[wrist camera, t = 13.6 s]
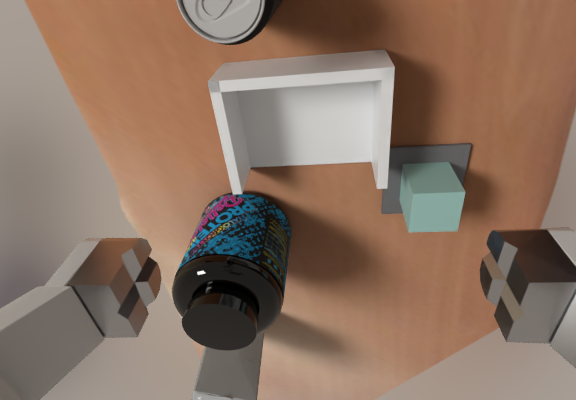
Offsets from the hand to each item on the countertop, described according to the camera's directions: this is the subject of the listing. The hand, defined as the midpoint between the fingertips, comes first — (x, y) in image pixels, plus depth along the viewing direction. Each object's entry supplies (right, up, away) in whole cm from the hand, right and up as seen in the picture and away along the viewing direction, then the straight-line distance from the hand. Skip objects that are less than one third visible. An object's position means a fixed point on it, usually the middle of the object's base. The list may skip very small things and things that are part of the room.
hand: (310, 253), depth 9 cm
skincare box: (-8, -17, +51) cm, 55 cm away
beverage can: (-4, +21, +24) cm, 32 cm away
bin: (+1, +10, +31) cm, 32 cm away
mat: (+15, +4, +34) cm, 38 cm away
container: (-6, -2, +40) cm, 41 cm away
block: (+15, +3, +34) cm, 37 cm away
